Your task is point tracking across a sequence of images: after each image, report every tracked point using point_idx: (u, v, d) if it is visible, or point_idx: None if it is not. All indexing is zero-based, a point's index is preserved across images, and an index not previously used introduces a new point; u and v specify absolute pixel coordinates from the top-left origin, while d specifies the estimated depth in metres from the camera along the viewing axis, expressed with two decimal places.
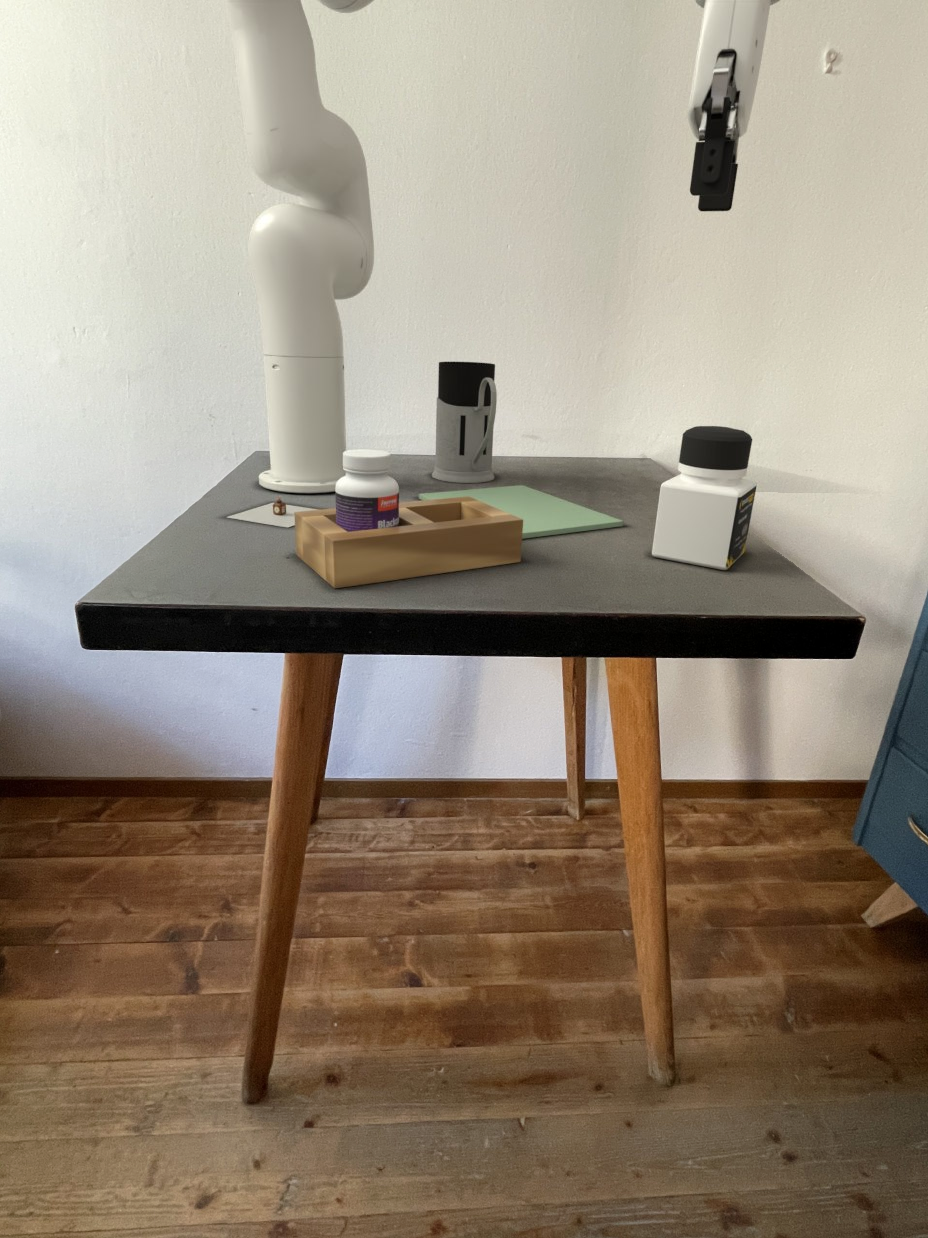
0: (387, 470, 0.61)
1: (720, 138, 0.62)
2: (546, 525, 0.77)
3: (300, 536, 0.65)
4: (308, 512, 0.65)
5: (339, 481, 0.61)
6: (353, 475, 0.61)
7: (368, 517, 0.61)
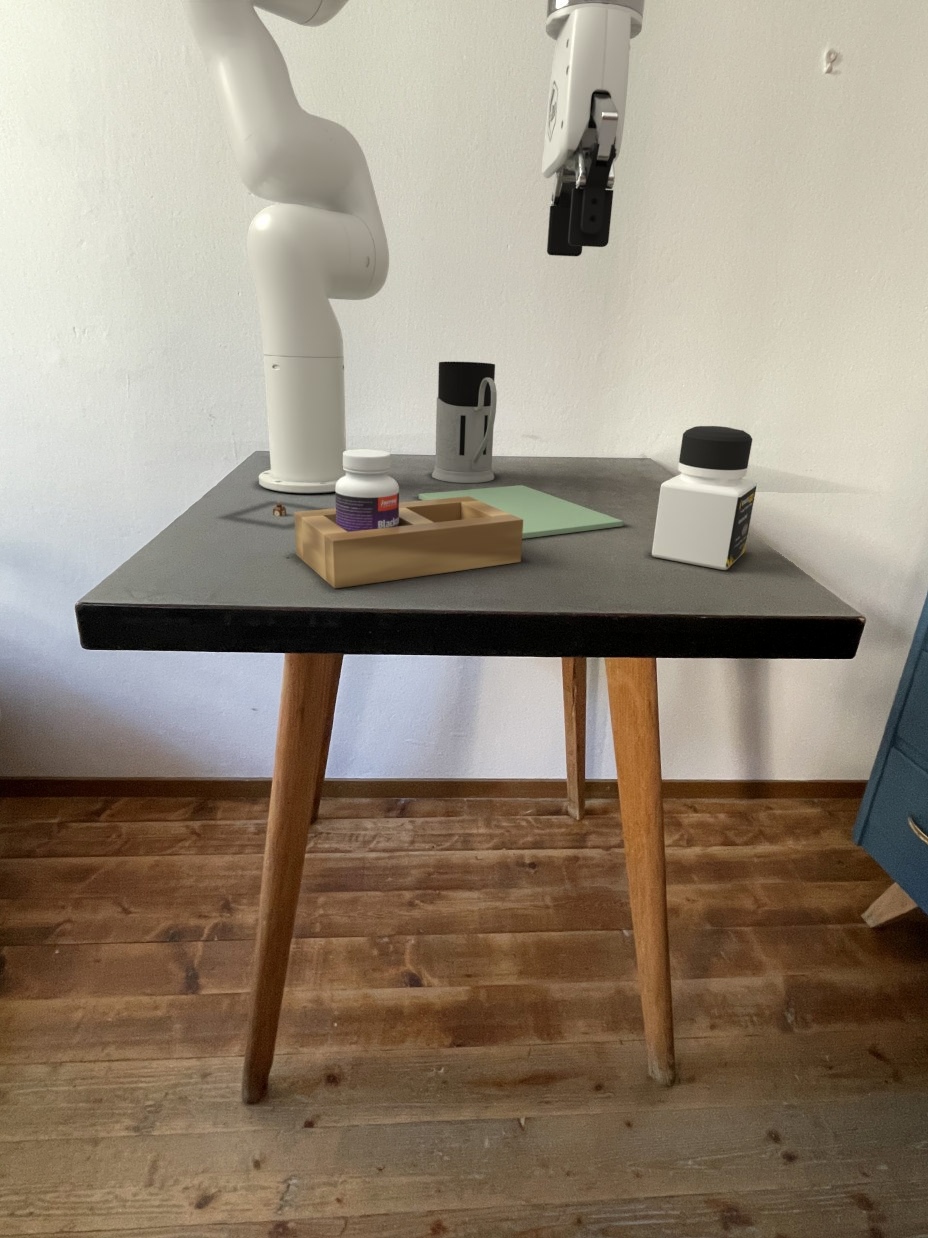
0: (387, 470, 0.61)
1: (601, 187, 0.57)
2: (546, 525, 0.77)
3: (300, 536, 0.65)
4: (308, 512, 0.65)
5: (339, 481, 0.61)
6: (353, 475, 0.61)
7: (368, 517, 0.61)
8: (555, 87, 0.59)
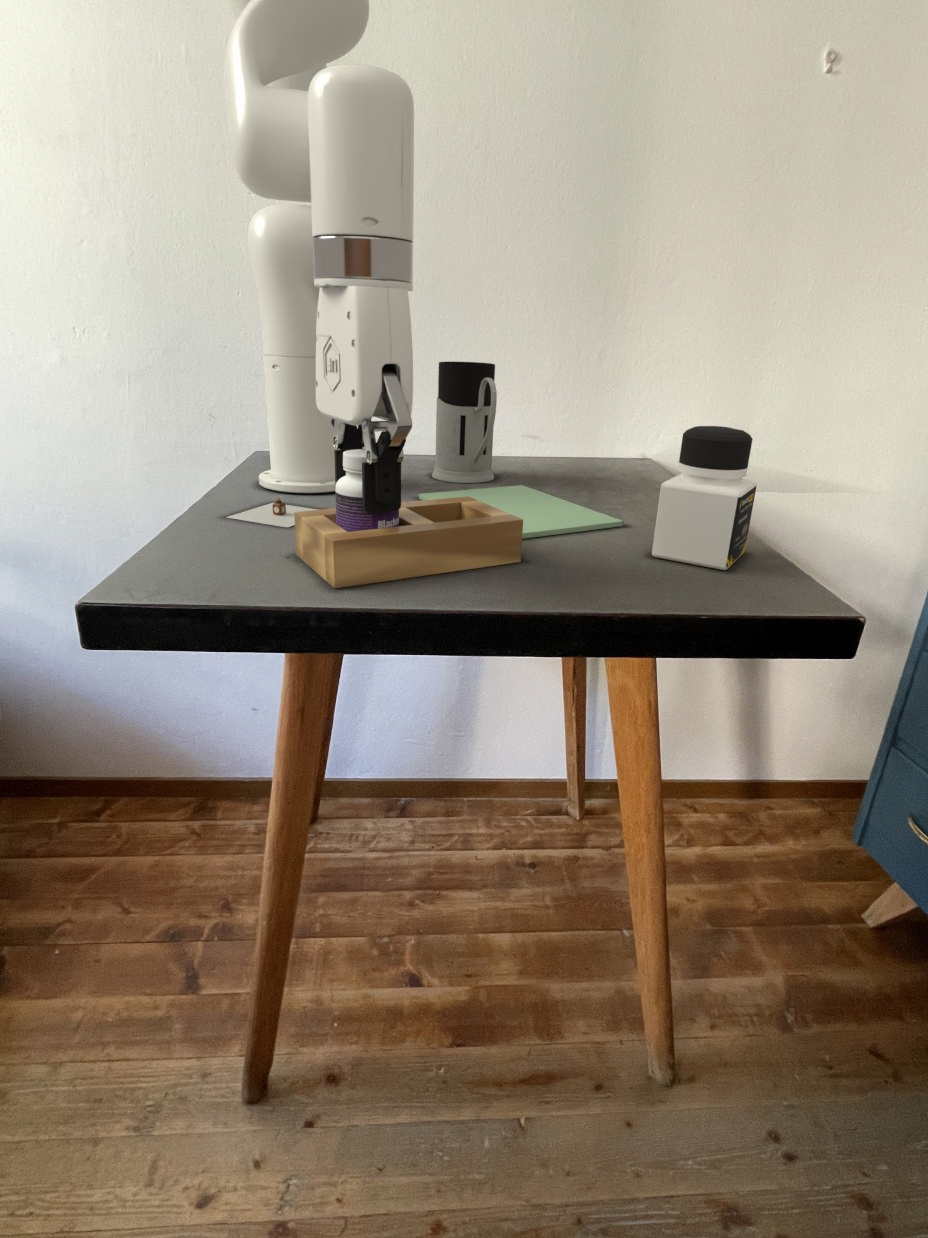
0: None
1: (392, 463, 0.58)
2: (546, 525, 0.77)
3: (300, 536, 0.65)
4: (308, 512, 0.65)
5: (339, 481, 0.61)
6: (353, 475, 0.61)
7: (368, 517, 0.61)
8: (334, 345, 0.56)
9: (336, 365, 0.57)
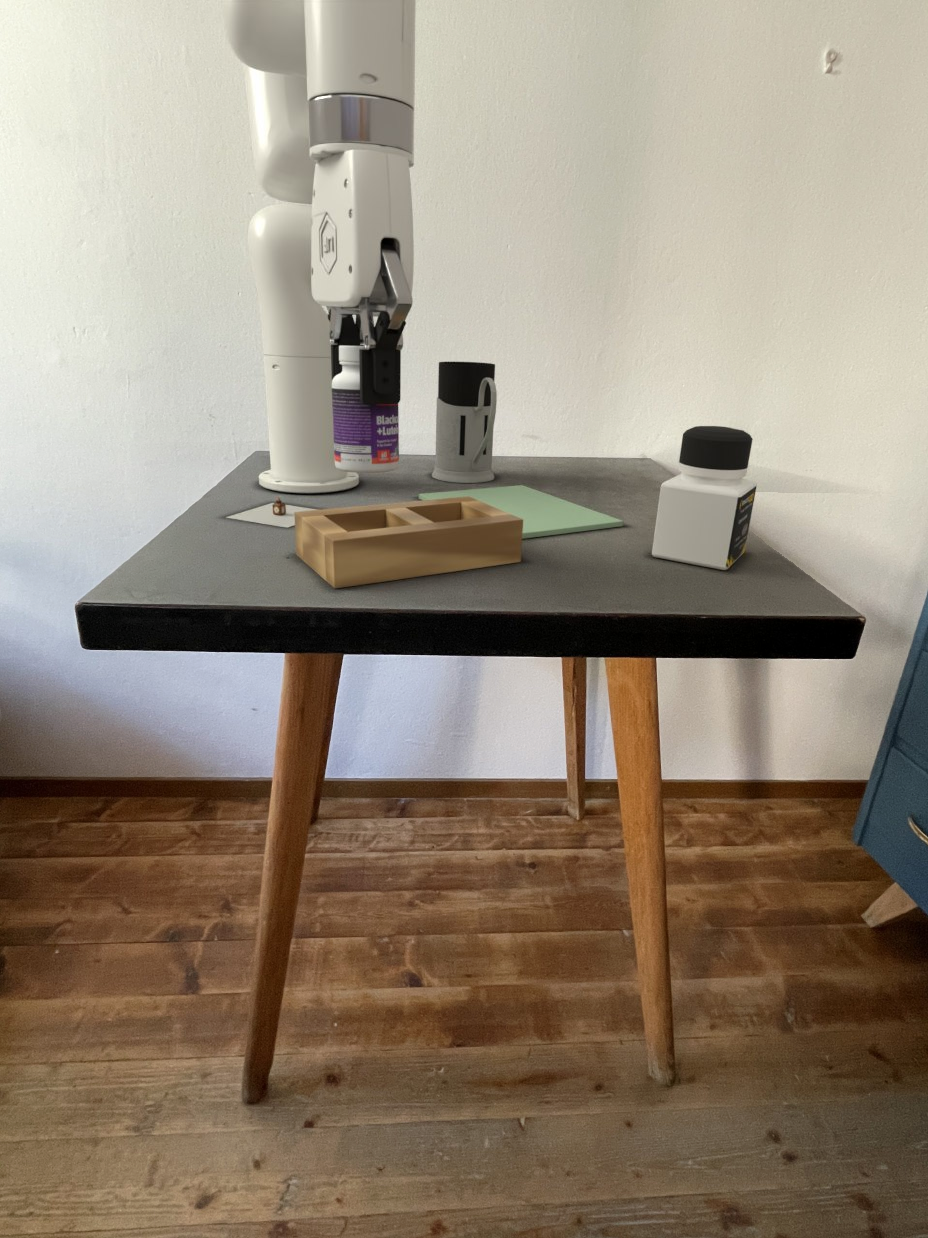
0: None
1: (391, 350, 0.56)
2: (546, 525, 0.77)
3: (300, 536, 0.65)
4: (308, 512, 0.65)
5: (335, 376, 0.59)
6: (349, 368, 0.58)
7: (366, 411, 0.58)
8: (330, 221, 0.53)
9: (332, 243, 0.54)
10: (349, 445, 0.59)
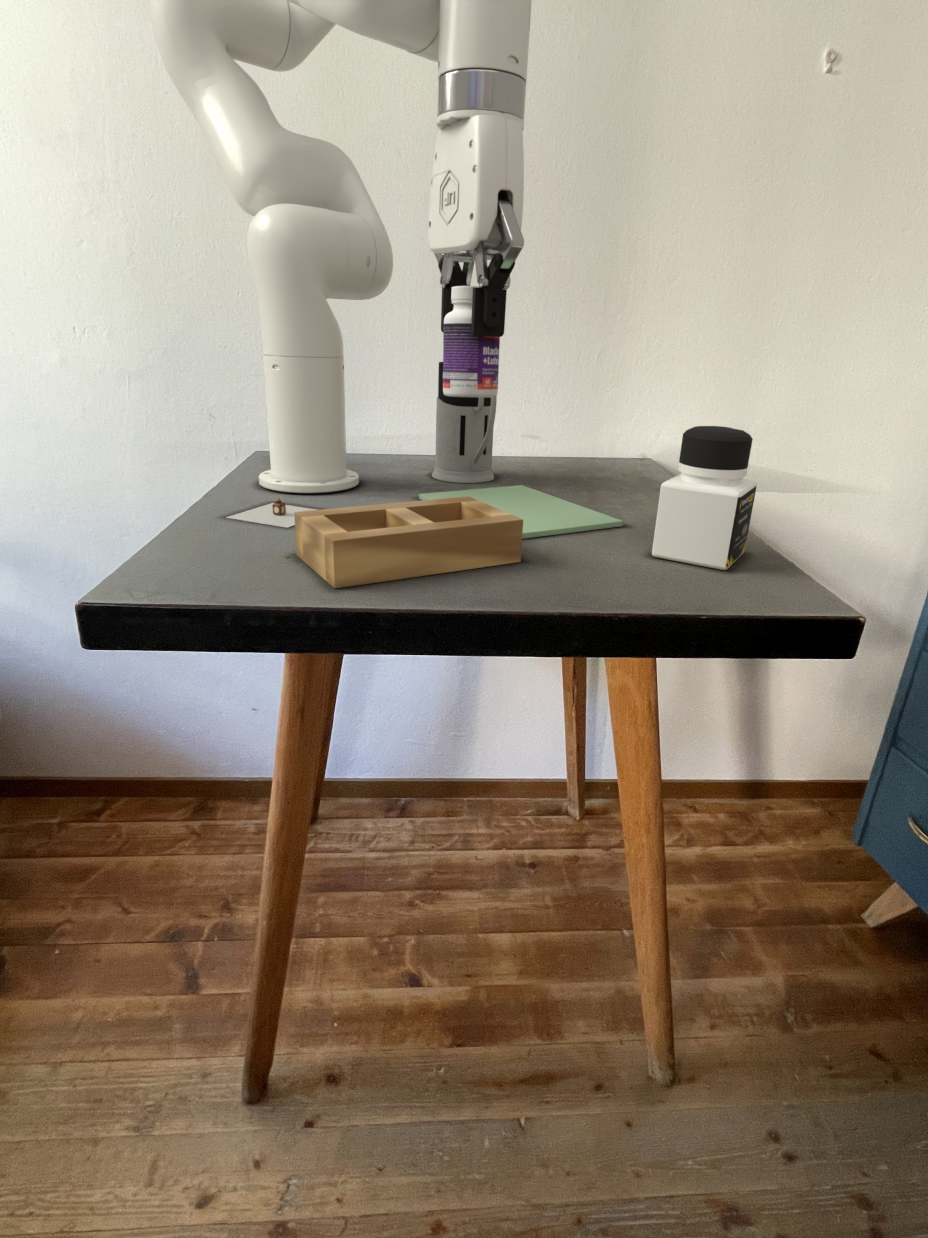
0: None
1: (500, 288, 0.65)
2: (546, 525, 0.77)
3: (300, 536, 0.65)
4: (308, 512, 0.65)
5: (448, 313, 0.69)
6: (461, 305, 0.68)
7: (475, 342, 0.68)
8: (453, 177, 0.64)
9: (454, 196, 0.64)
10: (458, 372, 0.69)
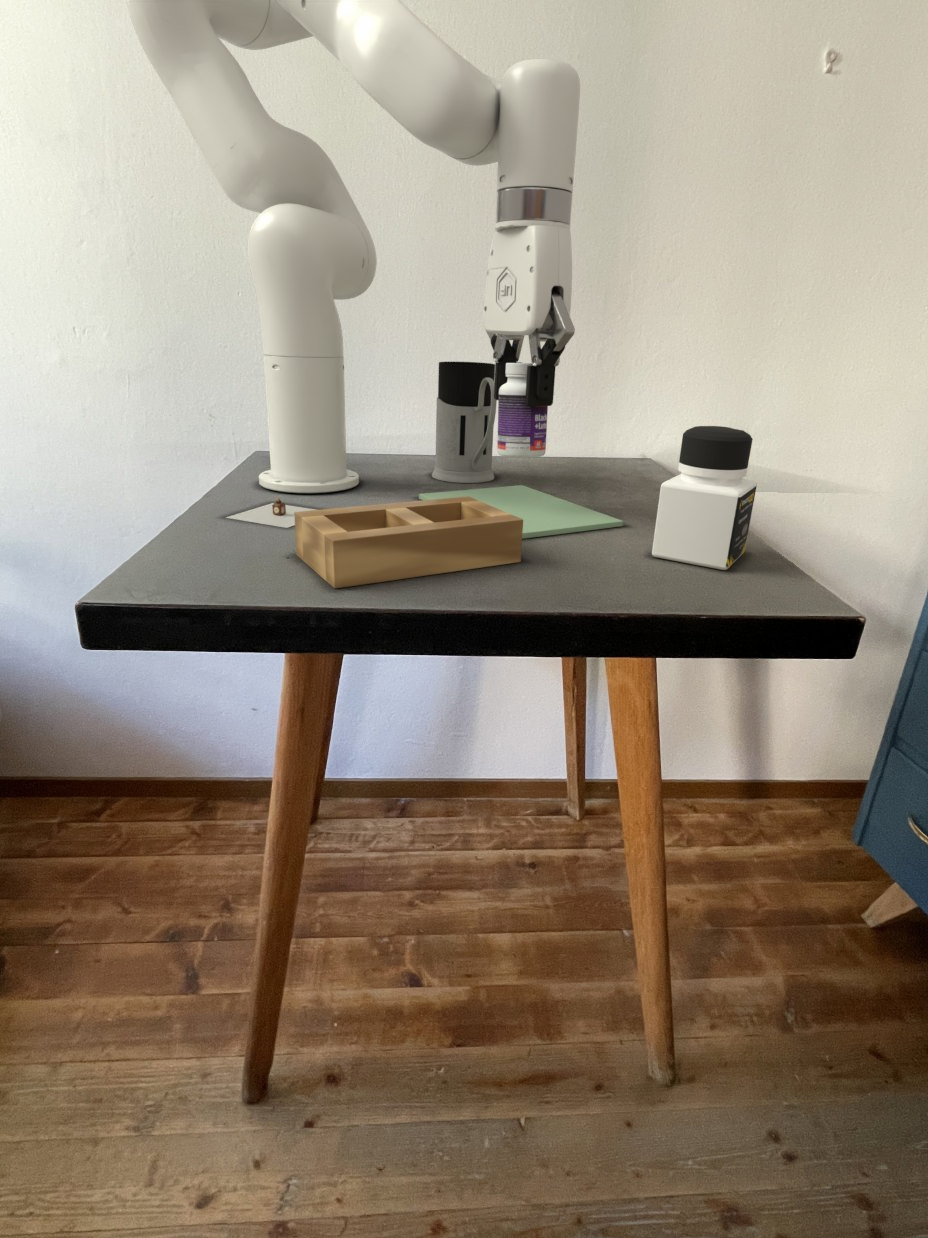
0: None
1: (550, 366, 0.76)
2: (546, 525, 0.77)
3: (300, 536, 0.65)
4: (308, 512, 0.65)
5: (503, 385, 0.79)
6: (515, 379, 0.78)
7: (528, 411, 0.78)
8: (510, 273, 0.74)
9: (511, 289, 0.74)
10: (513, 436, 0.79)
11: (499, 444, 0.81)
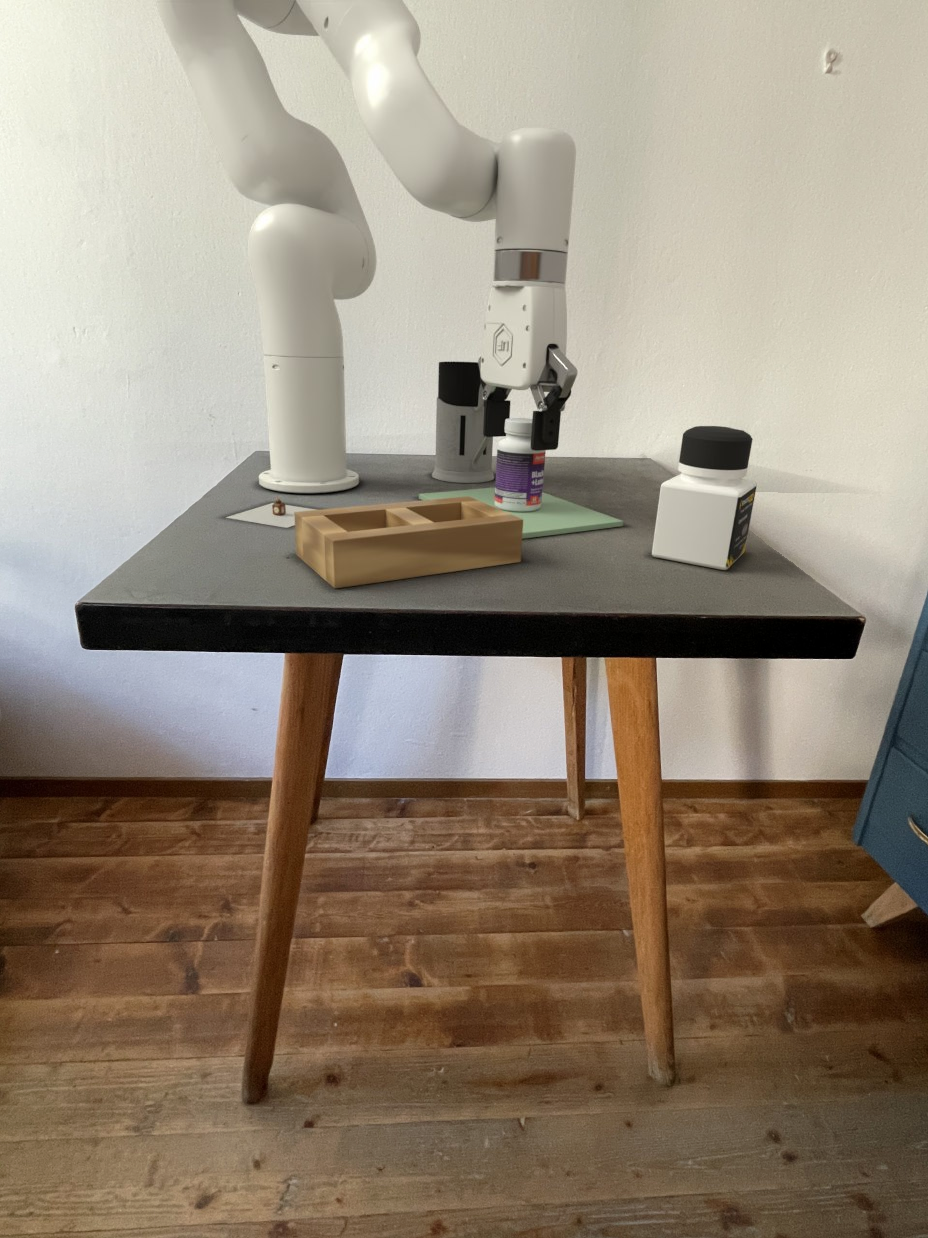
0: None
1: (556, 411, 0.76)
2: (546, 525, 0.77)
3: (300, 536, 0.65)
4: (308, 512, 0.65)
5: (502, 441, 0.81)
6: (514, 437, 0.80)
7: (525, 469, 0.80)
8: (506, 330, 0.76)
9: (507, 345, 0.76)
10: (510, 492, 0.81)
11: (496, 497, 0.83)
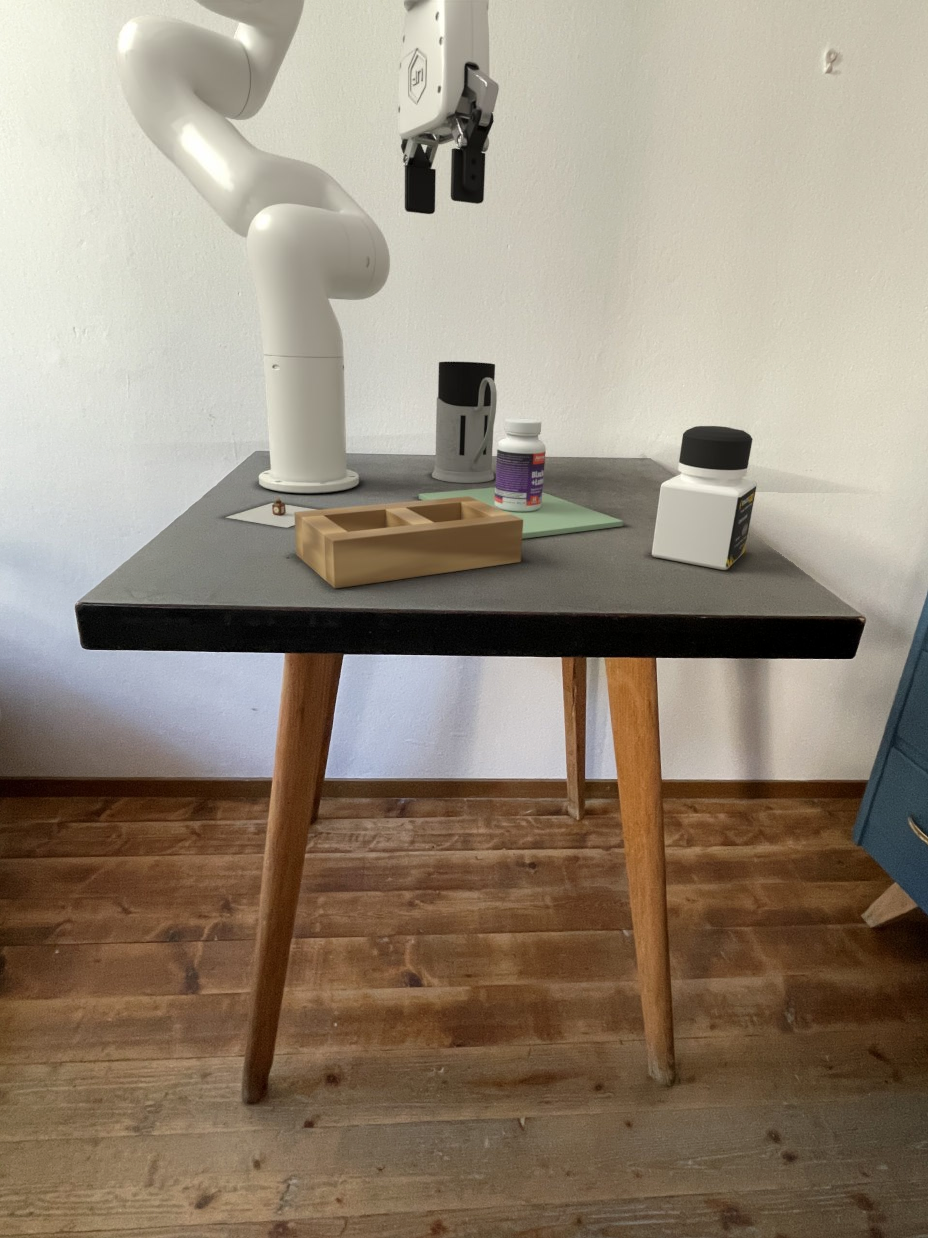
0: (539, 433, 0.81)
1: (478, 149, 0.65)
2: (546, 525, 0.77)
3: (300, 536, 0.65)
4: (308, 512, 0.65)
5: (502, 441, 0.81)
6: (514, 437, 0.80)
7: (525, 469, 0.80)
8: (420, 54, 0.65)
9: (422, 73, 0.66)
10: (510, 492, 0.81)
11: (496, 497, 0.83)
